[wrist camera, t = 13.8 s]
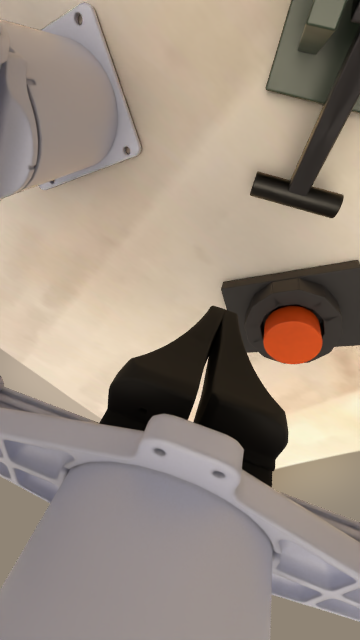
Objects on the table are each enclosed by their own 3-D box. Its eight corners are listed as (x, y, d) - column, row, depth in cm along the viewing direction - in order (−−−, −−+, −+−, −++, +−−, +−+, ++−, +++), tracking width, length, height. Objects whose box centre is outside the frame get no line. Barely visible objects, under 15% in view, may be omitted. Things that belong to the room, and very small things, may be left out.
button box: (240, 345, 29) (236, 366, 27) (223, 281, 25) (217, 300, 23) (359, 336, 25) (367, 360, 23) (358, 259, 21) (367, 279, 19)
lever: (333, 203, 18) (330, 229, 17) (254, 181, 19) (246, 205, 18) (532, -110, 9) (555, -97, 8) (359, -140, 9) (356, -131, 8)
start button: (269, 348, 25) (268, 365, 23) (260, 308, 23) (259, 324, 21) (321, 345, 23) (324, 363, 22) (317, 302, 21) (320, 318, 20)
